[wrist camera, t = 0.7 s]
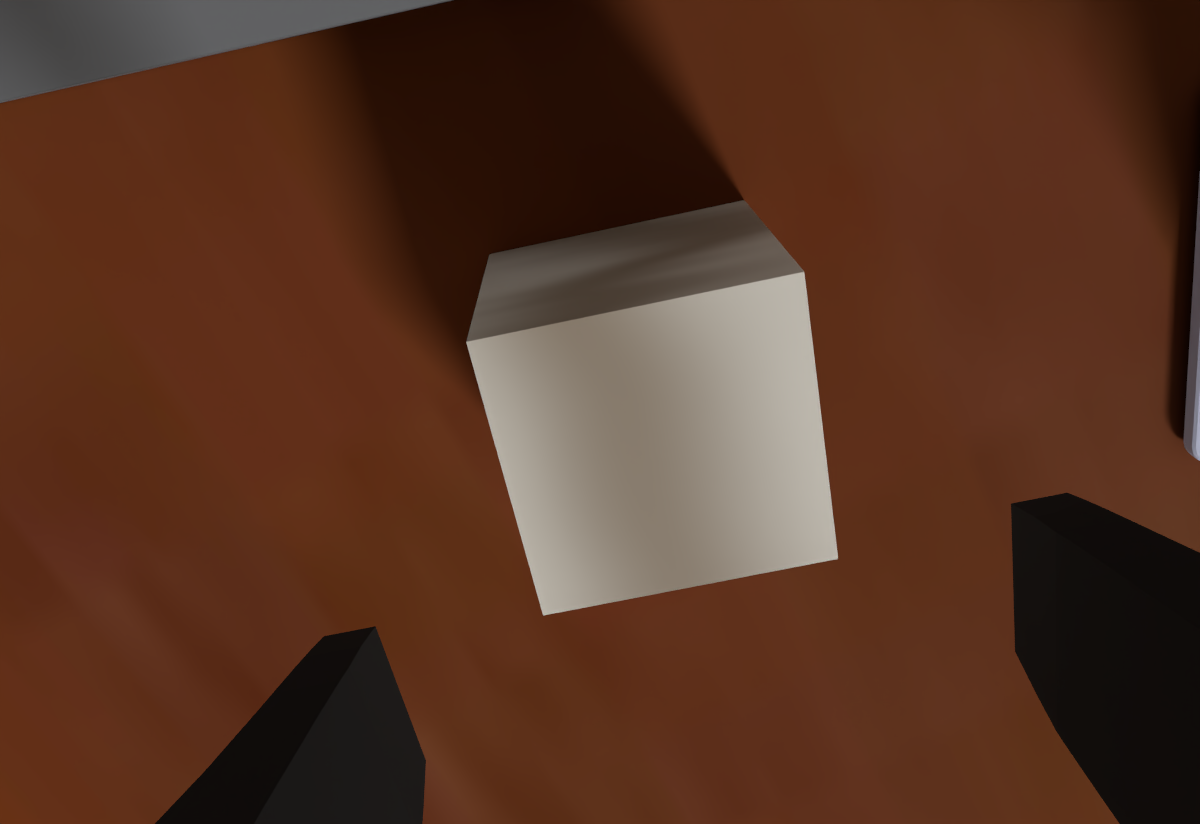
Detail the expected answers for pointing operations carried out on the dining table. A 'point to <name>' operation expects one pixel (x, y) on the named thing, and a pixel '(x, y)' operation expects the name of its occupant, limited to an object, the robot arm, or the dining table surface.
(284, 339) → the dining table surface
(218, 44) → the gray base
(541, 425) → the cream cube
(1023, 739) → the dining table surface
